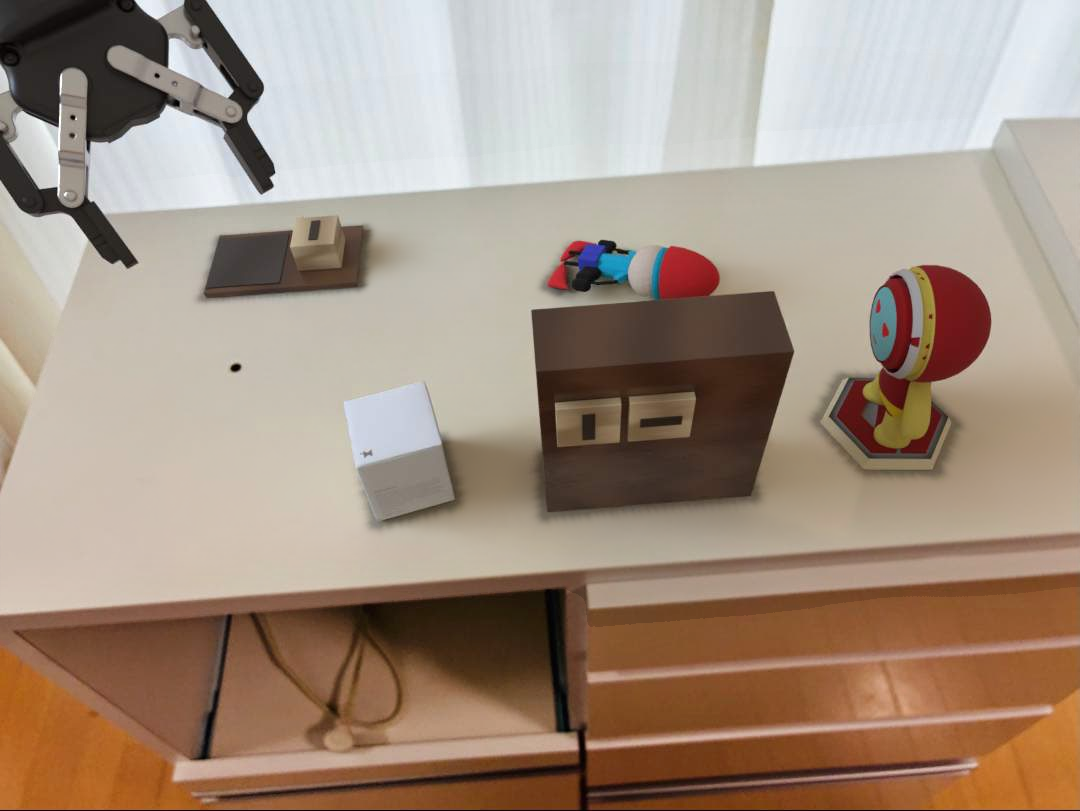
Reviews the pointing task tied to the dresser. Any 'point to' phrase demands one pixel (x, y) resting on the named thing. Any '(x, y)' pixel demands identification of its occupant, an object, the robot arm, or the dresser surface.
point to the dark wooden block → (657, 398)
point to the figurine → (910, 368)
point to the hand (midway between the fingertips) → (202, 227)
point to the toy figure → (639, 270)
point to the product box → (398, 450)
